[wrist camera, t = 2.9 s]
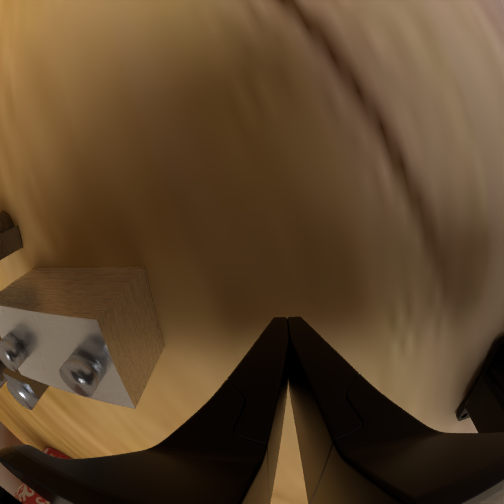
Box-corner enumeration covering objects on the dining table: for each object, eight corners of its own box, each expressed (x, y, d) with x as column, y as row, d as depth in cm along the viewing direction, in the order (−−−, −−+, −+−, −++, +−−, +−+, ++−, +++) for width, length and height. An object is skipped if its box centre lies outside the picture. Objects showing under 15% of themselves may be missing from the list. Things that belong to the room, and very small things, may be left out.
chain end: (14, 208, 9) (-42, 232, 6) (71, 373, 12) (42, 415, 9) (-11, 214, 9) (-60, 236, 6) (43, 365, 12) (14, 402, 9)
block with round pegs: (146, 265, 9) (81, 337, 5) (165, 344, 11) (127, 426, 7) (36, 266, 10) (-28, 312, 6) (59, 331, 11) (11, 385, 7)
